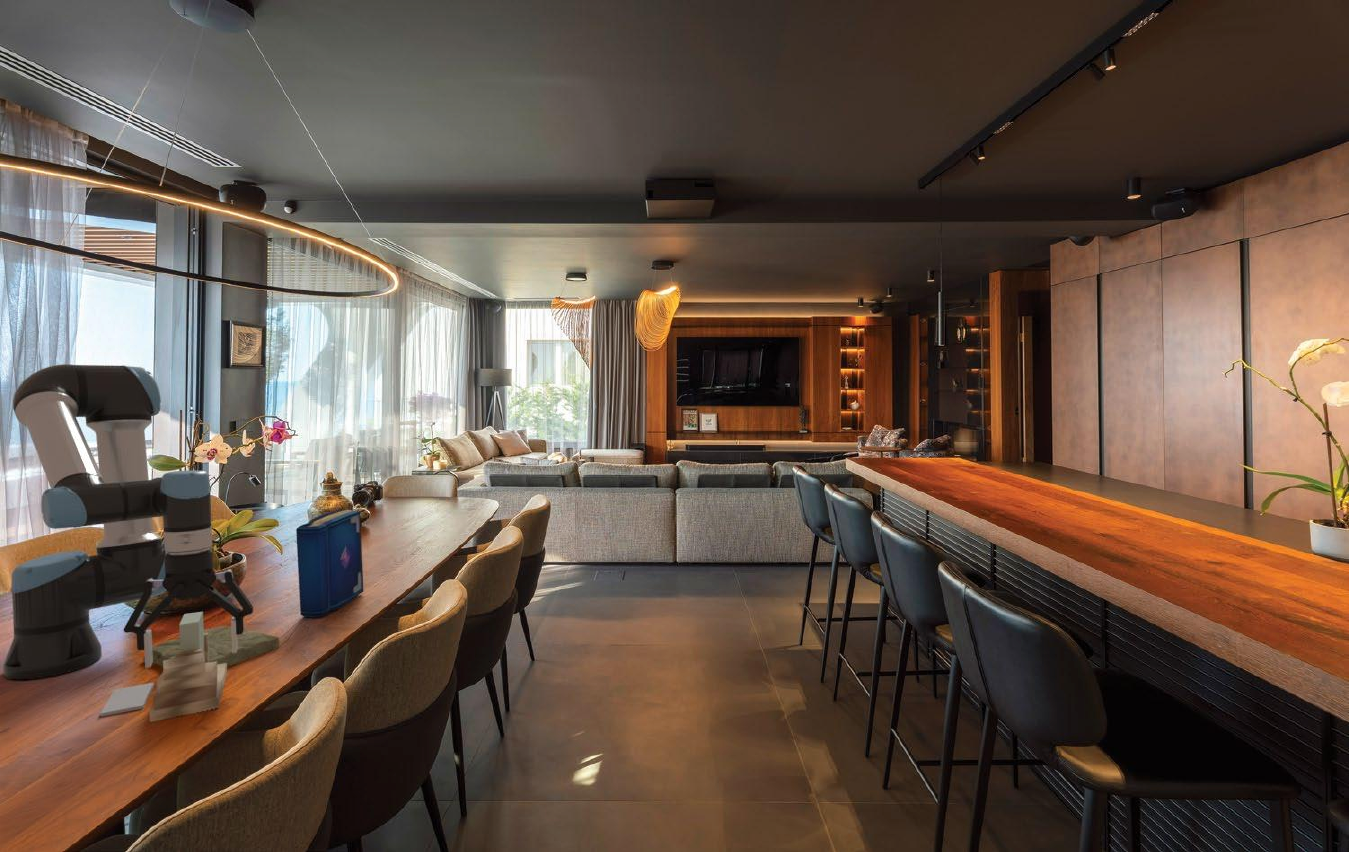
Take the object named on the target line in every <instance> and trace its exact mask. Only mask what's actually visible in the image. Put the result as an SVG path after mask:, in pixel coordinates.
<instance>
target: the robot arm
mask: <svg viewBox="0 0 1349 852" xmlns="http://www.w3.org/2000/svg"><path fill="white" fill-rule="evenodd" d="M161 402H162V401H161V394H160V389H159V385H158V383H157V381H156V378H155V377H154V376H153V374H152V372H150V371H149V370H148V369H146V368H145V367H141V366H139V367H137V366H129V365H100V364H99V365H97V364H95V365H93V364H89V365H88V364H56V365H51V366H47V367H44V368H42V369H40V370H39V369H38V371H36V372H33V373H32V374H31V375H29V376H27V377H26V378H25V379H24V380H23V381H22V382H21V383H20V384H19V386H18V387H17V389H16V391H15V393H14V396H13V398H12V409H13V411H14V415H15V417H16V419H17V421H18V422H19V423H20V424H21V425H23V426H24V427H26V428H27V430H28V433H29V435H30V438H31V440H32V444H33V445H34V449H35V451H36V452H37V453H36V454H37V456H38V458H39V461H40V463H41V466H42V468H43V472H44V474H45V476H46V479H47V482H48V485H49V487H50V488H47V489H46V490H45V491H44V492H42V495H41V501H40V502H41V504H40V505H41V513H42V519H43V522H44V524H45V526H46V527H48V528H50V529H55V530H56V529H69V528H73V529H74V528H75V529H76V528H77V529H78V528H82V527H87V526H95V525H103V531H104V532H103V535H104V537H103V539H102V540H101V541H100V542H99V543H97V545H96V554H95V555H88V554H87V553H86V551H85V550H70V551H61V552H56V553H51V554H47V555H44V556H39V557H37V558H33V559H29V560H28V561H27V560H26V561H25V562H23V563H21V564H19V565H17V566H16V567H15V569H14V570H13V571H12V573H11V583H10V586H11V587H10V589H9V590H10V593H11V596H12V597H11V599H12V601H11V602H12V618H13V624H12V625H13V626H12V627H13V639H12V641H11V644H10V647H9V649H8V652H7V654H6V657H5V660H4V662H3V667H2V668H3V669H2V670H3V677H4V678H5V677H6V678H5V679H7V680H11V679H30V680H37V679H36V678H38V679H42V678H43V677H45V678H49V676H50V677H54V676H53V675H55V676H59V675H62V673H63V674H66V673H65V672H67V673H70V672H69V671H71V672H73V671H76V670H80V669H82V668H85V667H87V666H89V665H92V664H94V663H95V662H97V661H99V660H100V659H101V657H102V654H103V653H102V645H101V642H100V640H99V639H98V637H97V635H96V633H95V631H94V628H93V627H92V625H91V622H90V610H95V609H100V608H105V607H110V606H114V605H120V604H124V603H128V602H134V601H138V603H136V605H135V607H134V609H133V611H132V613H131V615H130V616H129V618H128V620H127V622H126V623H125V625H124V628H123V633H126V634H128V633H131V634H132V633H133V634H135V635H136V649H137V650H138V651H144V656H145V662H144V668H145V669H148V668H151V667H152V666H153V664H152V663H153V652H152V647H153V635H152V634H153V633H152V632H153V631H152V628H151V629H148V628H149V627H150V625H152V624H153V623H154V621H155V620H156V619H157V618H158V617H159V616H160V615H161V614H162V612H163V611H164V610H165V609H166V608H167V607H168V606H170V604H171V603H172V602H173V600H174V599H177V600H180V601H185V600H188V599H198V598H199V599H200V598H201V597H203V596H206V597H207V598H208V599H210V600H212V601H213V602H214V603H216V605H218V606H219V607H220V608H222V609H223V610H225V611H226V612H227V613H228V614H229V615H231V619H230V627H231V634H232V653H237V649H238V642H237V635H239V634H242V633H243V630H244V628H245V625H244V618H245V617H247V616H251V615H252V614H253V612H254V606H253V604H252V603H251V602H250V600H249V599H248V597H247V595H246V594H245V593H244V592H243V590H242V588H241V587H240V586H239V585H238V583H237V581H236V580H235V578H234V573H233V570H232V569H231V568H228V569H226V570H225V571H221V572H220V571H219V572H215V569H214V557H213V556H214V555H213V554H214V553H213V552H214V551H213V550H212V548H211V547H212V546H213V529H212V528H213V527H212V505H211V504H212V502H211V500H212V499H211V497H212V496H211V492H212V486H211V483H210V475H209V473H208V472H207V471H205V470H196V469H195V470H177V471H176V470H175V471H170V472H165V473H164V474H163V475H162V476H161V477H153V478H151V479H149V467H148V457H147V445H146V436H145V435H146V434H145V431H146V429H147V428H148V427H149V426H150V425H151V424H152V423H153V421H152V420H153V419H152V417H155V416H156V415H158V414H160V411H161ZM77 418H84V419H85V424H86V425H85V426H86V427H87V428H89V429H90V430H92V431H93V432H94V433H95V435H96V448H97V460H98V464H97V462H96V460H95V457H94V455H93V453H92V451H91V449H90V447H89V444H88V441H87V439H86V437H85V435H84V433H83V430H82V427H81V426H80V423H79V421H78V419H77ZM157 517H158V518H159V517H160V518H161V517H162V521H163V522H162V523H163V538H162V536H161V535H160V534H158V533H156V532H155V531H154V527H153V518H157ZM216 580H220V582H221V583H223V584H224V583H225V585H226V587H227V588H228V590H229V591H230V593H231V594H232V596H234V598H235V600H236V601H237V602H238V603H239V606H240V607H241V608H240V607H238V605H236V604H234V603H233V602H232V601H230V600H229V599H228V598H227V597H226V596H224V595H223V594H222V593H221V592H219V591H218V589H217V588H216V587H215V586H213V584H214V583H215V582H216ZM166 591H167V592H168V593H167V594H166V596H165V597H163V599H162V600H161V601H160V602H159V604H158V605H157V606H156V607H154V608H153V610H152V611H151V613H150V614H148V616H147V617H146V618H145V619H144V620H143V621H142V622H141V623H140V624H139V623H137V622H138V620H139V618H140V617H141V615H142V613H143V611H144V609H145V607H146V605H147V604H148V602H149V601H150V598H153V597H156V596H160V595H162V594H164V593H165V592H166ZM58 674H59V675H58ZM43 679H44V678H43Z"/></svg>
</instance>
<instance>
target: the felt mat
mask: <svg viewBox="0 0 1349 852" xmlns="http://www.w3.org/2000/svg"><path fill="white" fill-rule="evenodd" d="M154 686H155V682H149V683H144V684H137V685H132V686H128V687H122V688H115V689H114V690H113V692H112V693H111V695H110V696H109V698H108V700H107V702H106V703H105V705H104V706H103V708H102V710H101V711H100V713H99V716H100V717H101V718H102V717H106V716H107V717H108V716H111V715H116V714H121V713H126V712H132V711H137V710H142V709H144V708H145V706H146V703H147V702H148V699H149V697H150V695H151V693H152V691H153V688H154Z"/></svg>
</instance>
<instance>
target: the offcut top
mask: <svg viewBox="0 0 1349 852" xmlns="http://www.w3.org/2000/svg"><path fill="white" fill-rule="evenodd" d="M162 668H163V670H162V672H164V681H165V680H169V679H174V678H178V677H183V676H188V675H192V674H197V673H202V672H205V658H204V653H199V654H194V655H189V656H184V657H179V658H174V659H169V660H164V661H163V667H162Z"/></svg>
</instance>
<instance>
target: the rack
mask: <svg viewBox="0 0 1349 852" xmlns="http://www.w3.org/2000/svg"><path fill="white" fill-rule="evenodd" d="M199 653H202V649H197V650H191V651H185V652H179V653H176V654H175V658H179V657H184V656H189V655H194V654H199ZM204 656H205V663H209V649H208V633H204ZM217 672H218V674H217V696H216V698H212V699H207V700H202V701H197V702H193V703H188V704H183V705H178V706H174V707H169V708H164V709H159V710H155V711H154V701H153V702H152V704H151V706H150V709H149V722H150V723H152V722H156V721H157V722H159V721H163V720H166V719H167V720H168V719H171V718H177V716H178V717H182V716H181V715H183V716H186V715H192V714H197V712H198V713H201V712H202V711H203V712H206V711H207V710H208V711H211V709H213V710H216V709H215V708H218V709H219V708H220V706H219V705H221V701H222V697H223V693H222V692H224V687H225V685H226V683H225V682H226V679H227V674H228V667H227V663H224V664H218V665H217ZM220 700H221V701H220Z"/></svg>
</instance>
